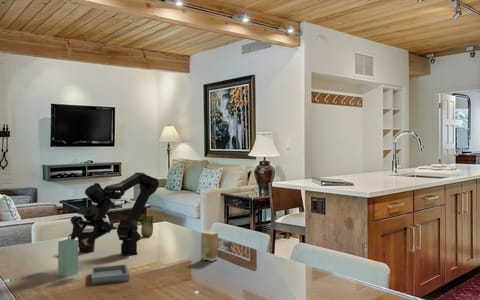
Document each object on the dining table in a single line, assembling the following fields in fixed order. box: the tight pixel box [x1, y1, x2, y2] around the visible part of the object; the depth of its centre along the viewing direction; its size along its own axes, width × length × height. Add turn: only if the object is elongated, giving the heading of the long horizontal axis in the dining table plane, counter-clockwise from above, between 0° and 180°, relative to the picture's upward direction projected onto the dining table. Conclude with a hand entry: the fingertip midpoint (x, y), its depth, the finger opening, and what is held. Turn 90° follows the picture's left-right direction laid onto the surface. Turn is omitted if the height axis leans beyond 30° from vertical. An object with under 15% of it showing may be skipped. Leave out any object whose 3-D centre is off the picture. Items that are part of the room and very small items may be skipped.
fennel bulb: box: [140, 214, 154, 238], centre depth 220 cm, size 6×5×12 cm
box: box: [91, 263, 130, 286], centre depth 152 cm, size 13×13×2 cm
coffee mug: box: [67, 227, 96, 254], centre depth 189 cm, size 12×9×10 cm
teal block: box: [57, 238, 79, 278], centre depth 155 cm, size 5×5×13 cm
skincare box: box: [200, 230, 219, 261], centre depth 176 cm, size 6×4×12 cm
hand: (79, 241), depth 160 cm, fingers open, 9 cm apart
